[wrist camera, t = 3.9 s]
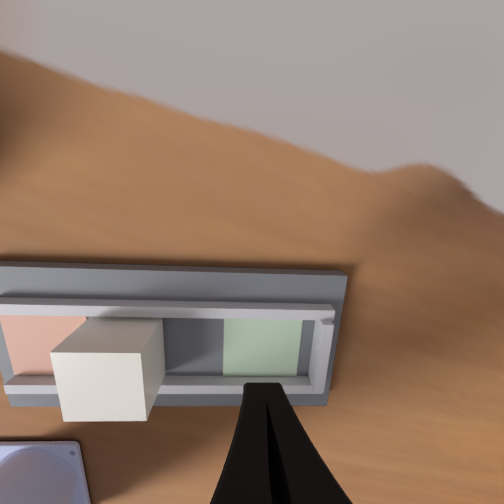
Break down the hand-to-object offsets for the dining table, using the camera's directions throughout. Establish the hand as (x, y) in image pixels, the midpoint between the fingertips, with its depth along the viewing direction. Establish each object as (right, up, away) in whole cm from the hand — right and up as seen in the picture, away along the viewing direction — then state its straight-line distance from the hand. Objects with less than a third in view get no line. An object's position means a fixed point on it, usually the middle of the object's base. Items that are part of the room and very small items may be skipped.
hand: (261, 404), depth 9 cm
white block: (-10, -1, +9) cm, 13 cm away
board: (-7, -1, +11) cm, 13 cm away
